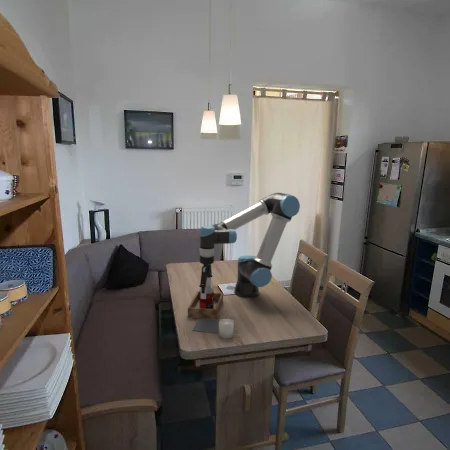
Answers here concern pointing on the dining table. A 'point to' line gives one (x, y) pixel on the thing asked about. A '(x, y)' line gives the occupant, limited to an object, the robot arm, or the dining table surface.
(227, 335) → the off-white domed pebble
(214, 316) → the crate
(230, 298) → the dining table surface
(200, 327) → the mat
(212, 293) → the canned food
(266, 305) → the dining table surface
